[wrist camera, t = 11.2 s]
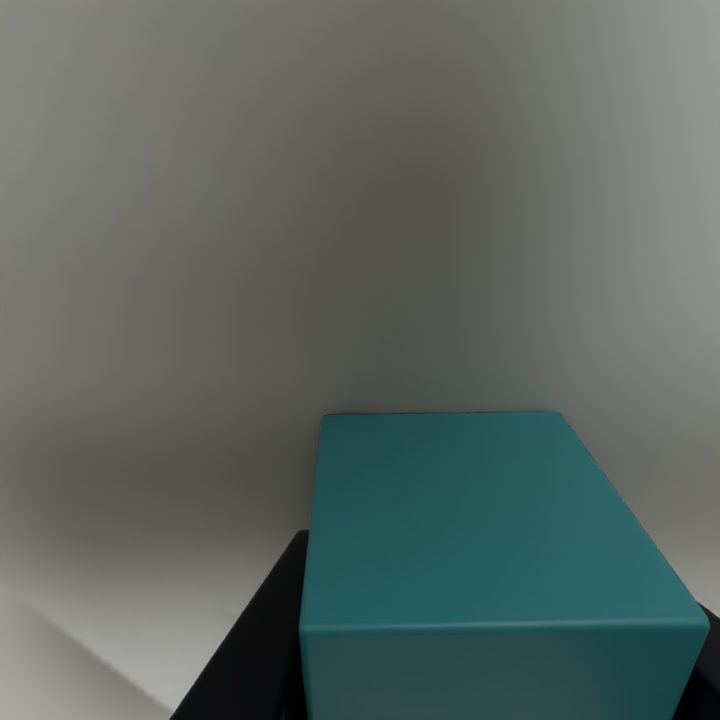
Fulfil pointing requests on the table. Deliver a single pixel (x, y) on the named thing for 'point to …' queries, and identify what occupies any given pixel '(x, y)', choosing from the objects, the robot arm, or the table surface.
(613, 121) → the table surface
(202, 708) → the robot arm
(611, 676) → the teal block
